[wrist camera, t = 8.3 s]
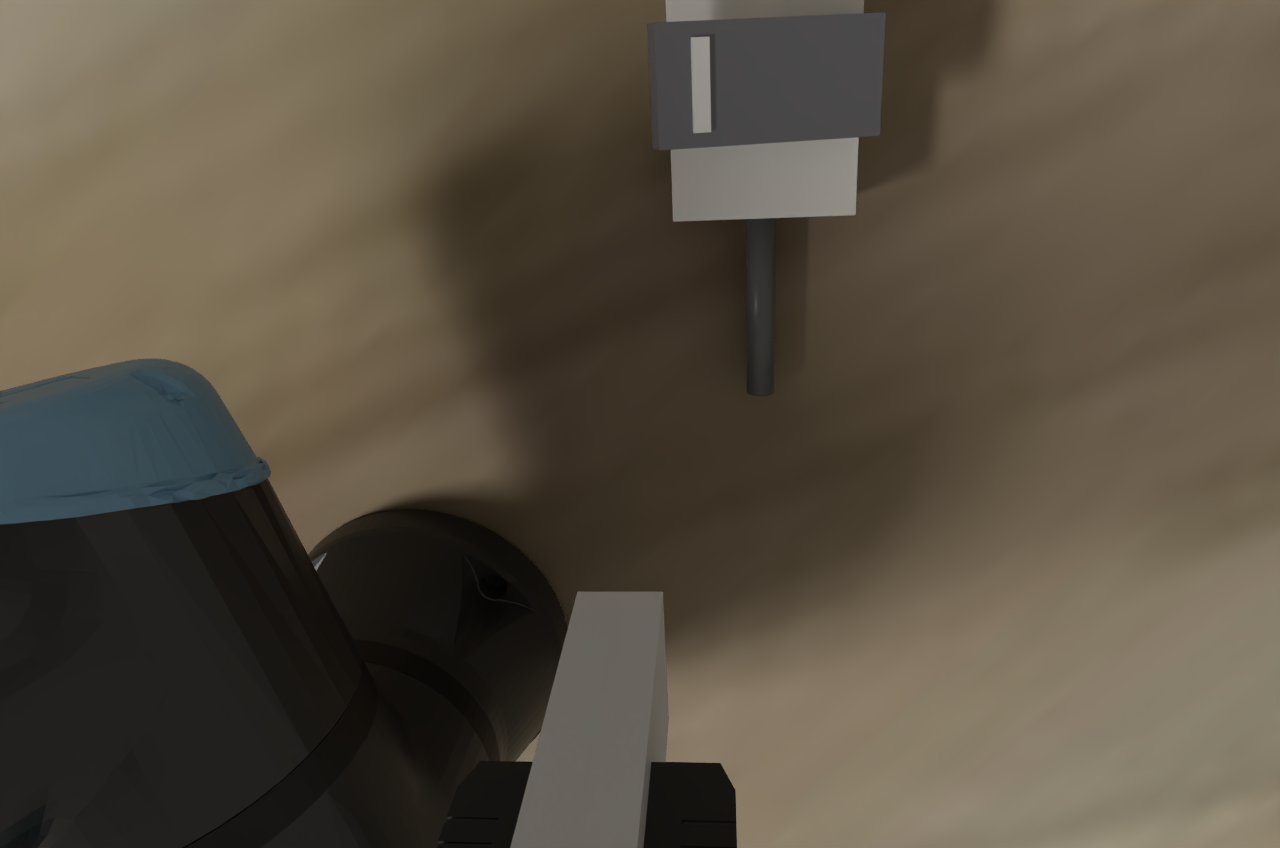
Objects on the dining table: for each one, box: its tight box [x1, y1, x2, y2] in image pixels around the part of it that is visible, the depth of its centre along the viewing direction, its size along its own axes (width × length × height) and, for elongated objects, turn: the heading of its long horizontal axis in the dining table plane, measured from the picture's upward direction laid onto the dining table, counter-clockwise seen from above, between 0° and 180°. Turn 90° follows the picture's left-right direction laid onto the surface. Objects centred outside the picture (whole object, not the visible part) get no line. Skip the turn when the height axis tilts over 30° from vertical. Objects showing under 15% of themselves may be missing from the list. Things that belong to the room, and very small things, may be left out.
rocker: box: [647, 12, 886, 150], centre depth 31 cm, size 8×4×1 cm, turn 93°
